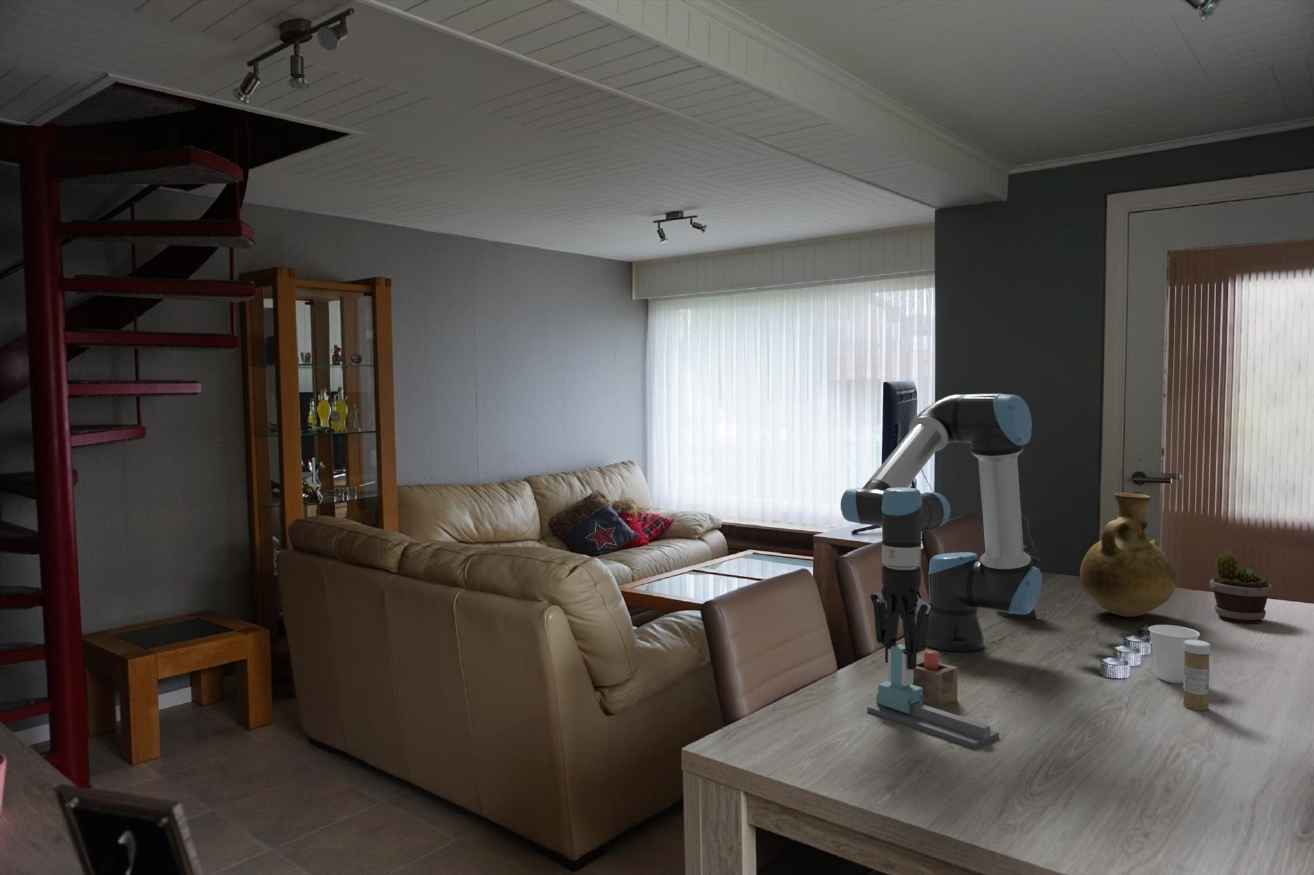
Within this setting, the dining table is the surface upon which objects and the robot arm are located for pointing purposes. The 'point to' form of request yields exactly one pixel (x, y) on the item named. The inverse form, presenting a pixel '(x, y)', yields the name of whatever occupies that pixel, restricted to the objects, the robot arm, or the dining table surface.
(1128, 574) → the vase
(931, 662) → the cylinder
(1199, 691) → the sprinkles bottle
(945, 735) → the rail bed
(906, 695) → the carriage
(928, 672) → the open wooden box
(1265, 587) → the flowerpot
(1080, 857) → the dining table surface
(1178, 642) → the cup
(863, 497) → the robot arm
